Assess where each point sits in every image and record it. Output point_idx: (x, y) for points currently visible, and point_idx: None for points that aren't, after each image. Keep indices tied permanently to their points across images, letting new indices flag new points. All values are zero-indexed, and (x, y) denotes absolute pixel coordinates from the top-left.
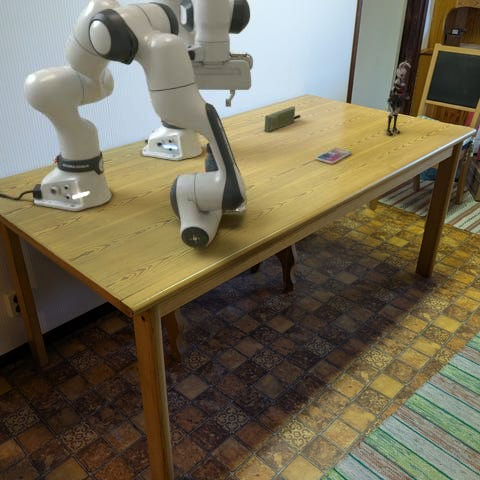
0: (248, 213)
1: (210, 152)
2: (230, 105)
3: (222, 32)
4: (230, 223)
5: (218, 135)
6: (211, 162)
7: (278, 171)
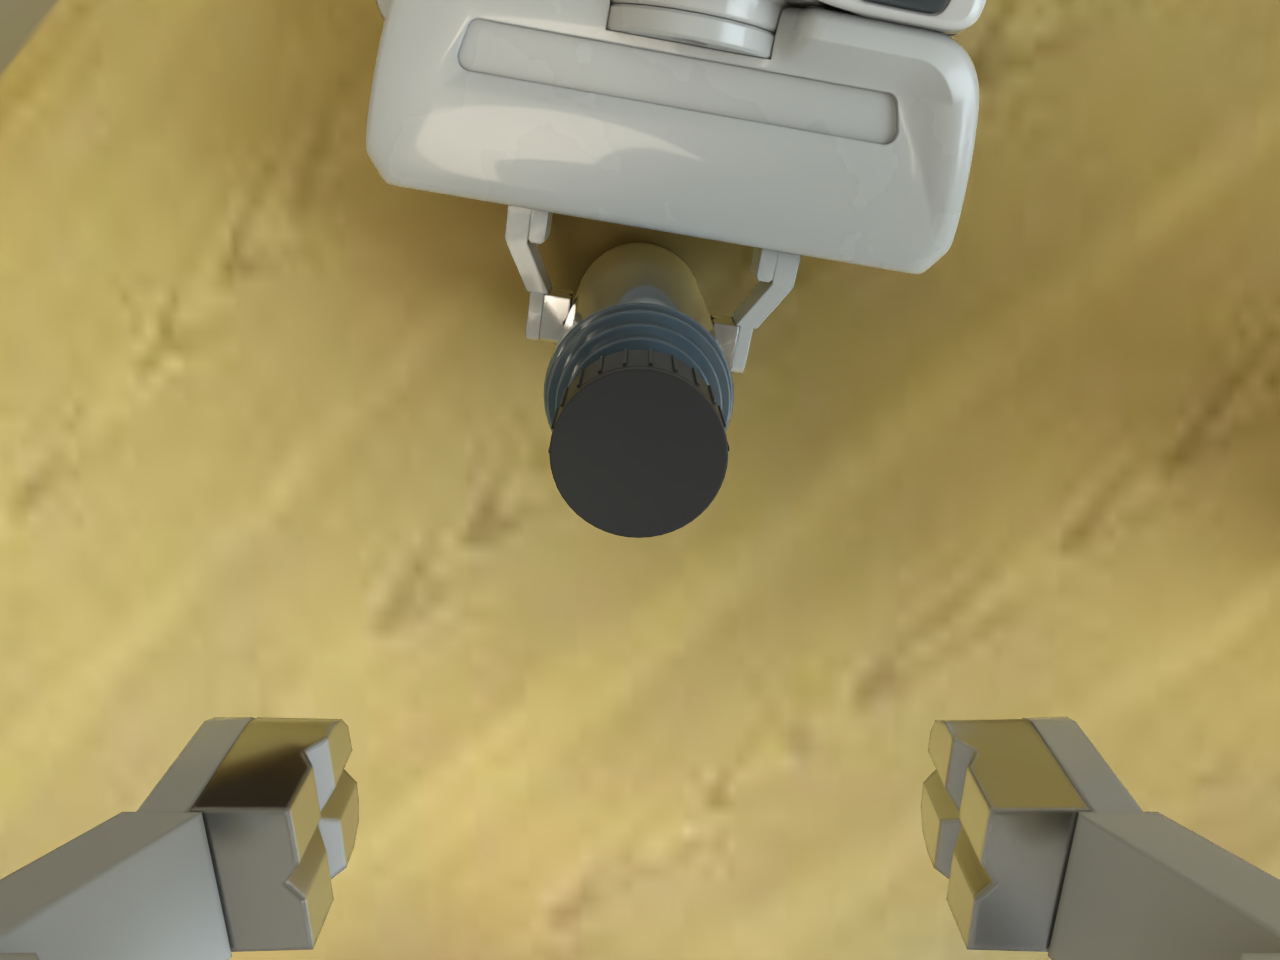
0: (396, 188)
1: (678, 362)
2: (213, 720)
3: None
4: None
5: None
6: (665, 314)
7: None
